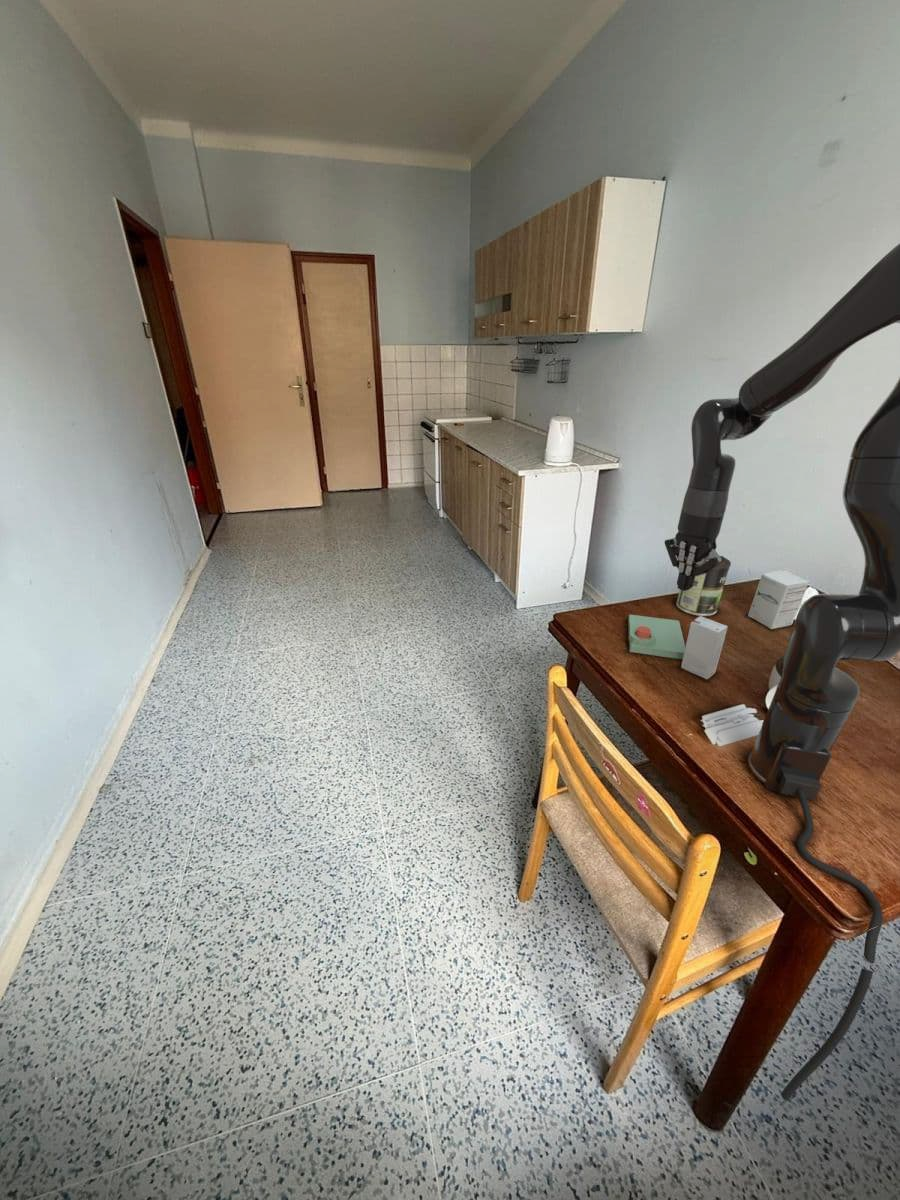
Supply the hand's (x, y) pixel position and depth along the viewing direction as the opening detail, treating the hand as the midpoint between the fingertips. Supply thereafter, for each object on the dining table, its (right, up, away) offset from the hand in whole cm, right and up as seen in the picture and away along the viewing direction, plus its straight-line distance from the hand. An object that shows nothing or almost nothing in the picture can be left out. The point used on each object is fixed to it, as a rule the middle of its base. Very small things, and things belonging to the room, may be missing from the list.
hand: (683, 589), depth 100 cm
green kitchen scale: (+1, -12, +16) cm, 20 cm away
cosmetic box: (+5, -18, +4) cm, 19 cm away
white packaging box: (+33, -8, +22) cm, 41 cm away
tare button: (-4, -11, +11) cm, 16 cm away
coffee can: (+18, -4, +29) cm, 35 cm away
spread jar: (+18, -24, -7) cm, 31 cm away
